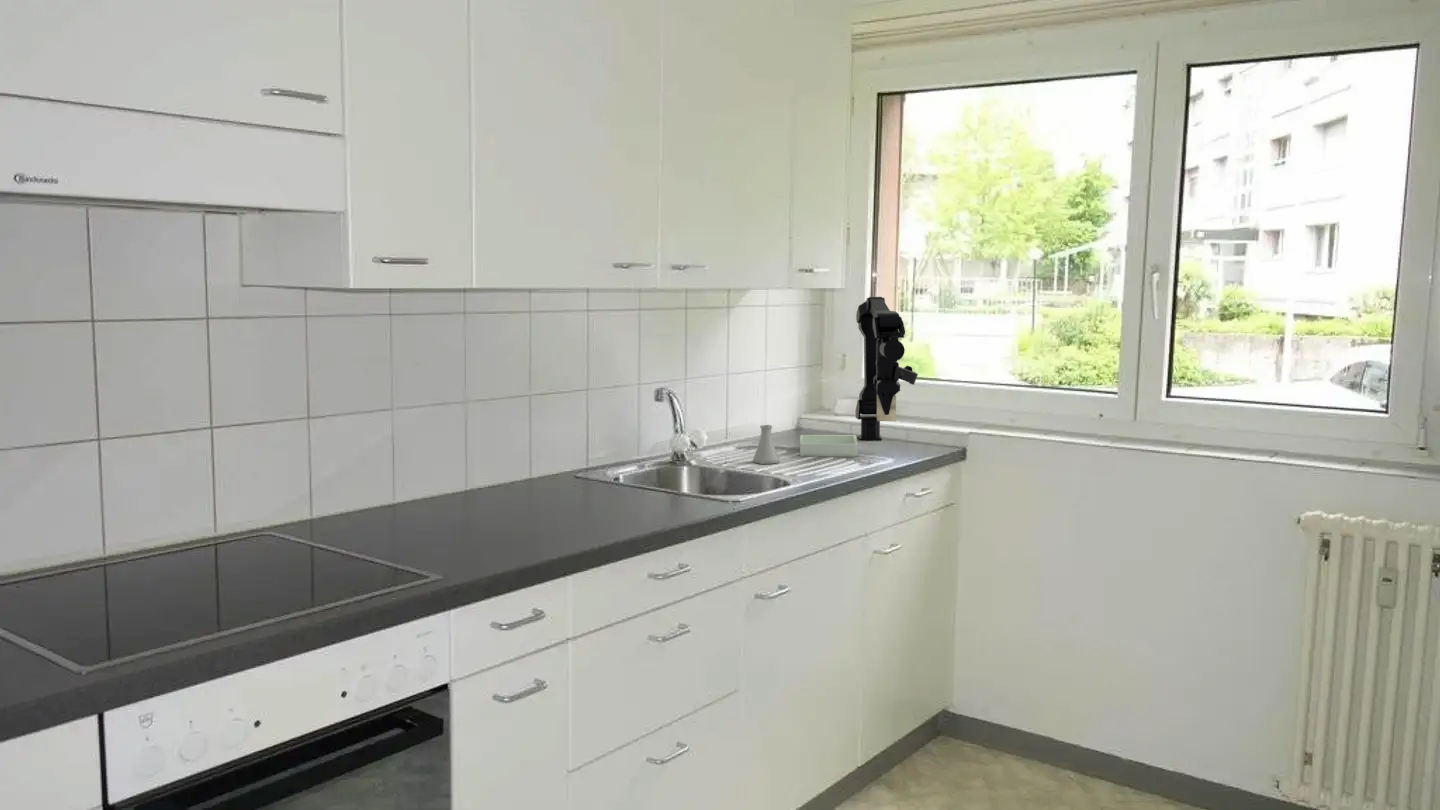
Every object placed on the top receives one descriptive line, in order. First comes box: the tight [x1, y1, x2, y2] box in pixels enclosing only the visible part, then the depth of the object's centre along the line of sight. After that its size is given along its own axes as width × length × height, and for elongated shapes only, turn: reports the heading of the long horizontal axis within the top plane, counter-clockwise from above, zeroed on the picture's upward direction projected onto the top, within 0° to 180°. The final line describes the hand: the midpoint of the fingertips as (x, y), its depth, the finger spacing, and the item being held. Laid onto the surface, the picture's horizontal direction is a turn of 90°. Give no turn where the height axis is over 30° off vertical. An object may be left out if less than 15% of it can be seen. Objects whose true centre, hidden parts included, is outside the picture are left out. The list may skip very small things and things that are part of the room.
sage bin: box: [799, 434, 859, 458], centre depth 319 cm, size 16×16×4 cm
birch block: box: [877, 394, 897, 422], centre depth 315 cm, size 5×5×7 cm
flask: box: [752, 424, 781, 465], centre depth 303 cm, size 7×7×10 cm
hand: (886, 413), depth 315 cm, fingers closed on birch block, 5 cm apart
